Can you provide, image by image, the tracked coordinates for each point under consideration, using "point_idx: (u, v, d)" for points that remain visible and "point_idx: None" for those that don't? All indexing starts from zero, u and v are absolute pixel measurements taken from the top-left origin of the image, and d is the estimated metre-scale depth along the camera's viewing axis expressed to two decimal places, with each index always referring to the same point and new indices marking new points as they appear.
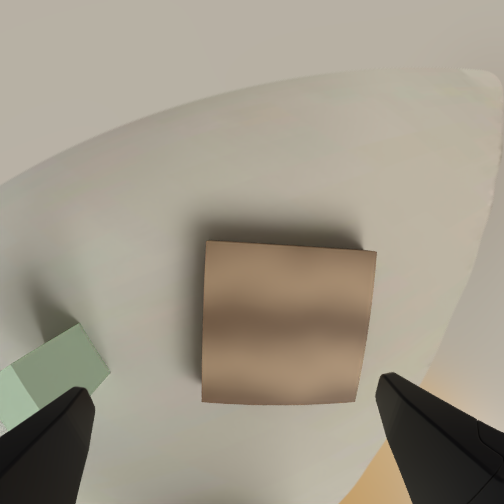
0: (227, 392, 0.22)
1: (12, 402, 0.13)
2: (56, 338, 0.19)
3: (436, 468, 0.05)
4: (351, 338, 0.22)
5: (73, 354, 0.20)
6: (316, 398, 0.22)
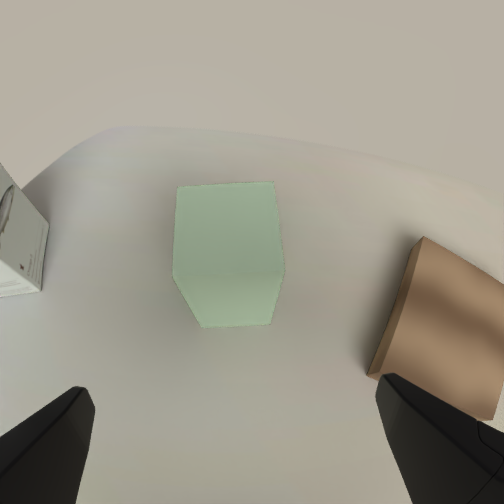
0: (406, 368, 0.19)
1: (233, 216, 0.15)
2: None
3: (436, 468, 0.05)
4: (500, 353, 0.19)
5: None
6: (469, 403, 0.17)
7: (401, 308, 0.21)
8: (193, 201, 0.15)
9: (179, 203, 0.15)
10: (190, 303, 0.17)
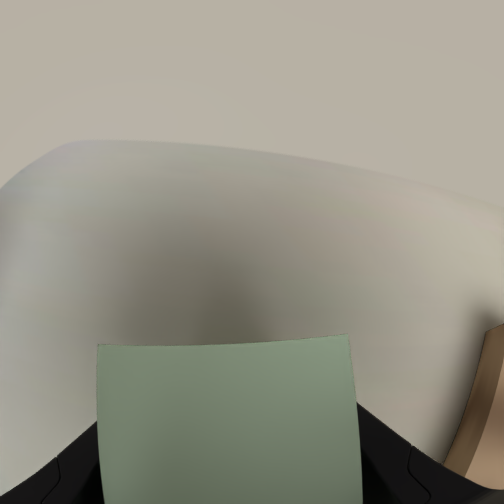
0: None
1: (243, 450, 0.05)
2: None
3: (362, 492, 0.05)
4: None
5: None
6: None
7: (478, 434, 0.11)
8: (137, 396, 0.05)
9: (104, 397, 0.05)
10: None
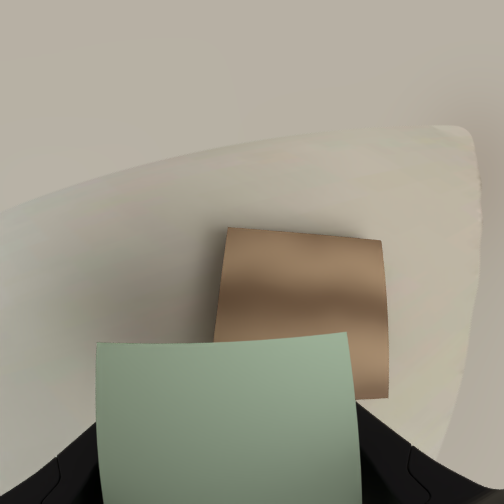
0: None
1: (243, 448, 0.05)
2: None
3: (362, 492, 0.05)
4: (371, 320, 0.21)
5: None
6: None
7: None
8: (136, 394, 0.05)
9: (103, 395, 0.05)
10: None
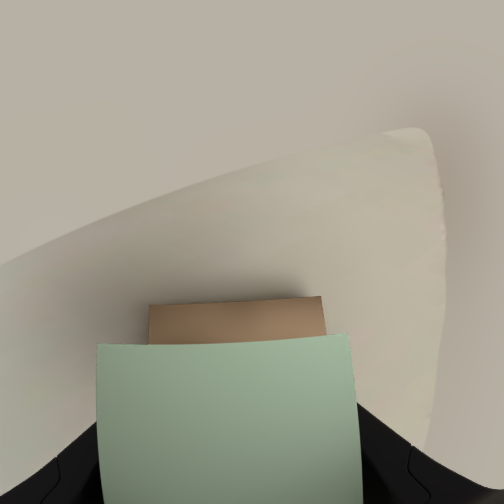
0: None
1: (244, 450, 0.05)
2: None
3: None
4: None
5: None
6: None
7: None
8: (137, 395, 0.05)
9: (104, 396, 0.05)
10: None
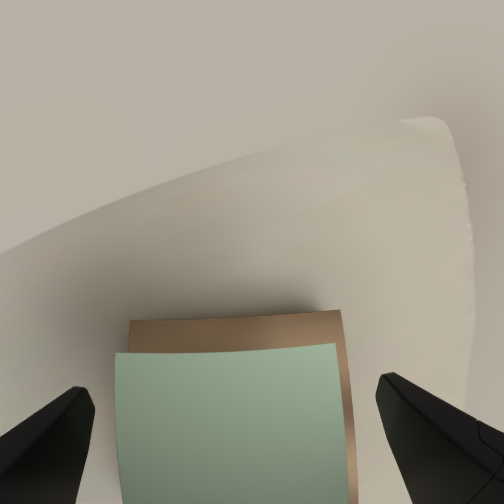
0: None
1: (244, 444, 0.06)
2: None
3: (436, 468, 0.05)
4: None
5: None
6: None
7: None
8: (151, 398, 0.06)
9: (122, 399, 0.06)
10: None
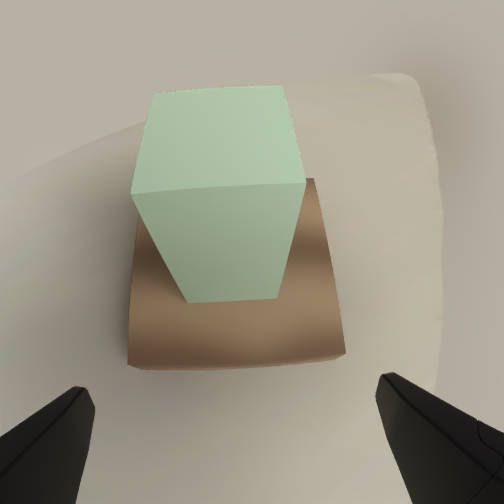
0: (159, 347, 0.16)
1: (226, 119, 0.10)
2: None
3: (436, 468, 0.05)
4: (310, 262, 0.19)
5: None
6: (285, 350, 0.16)
7: None
8: (172, 106, 0.10)
9: (153, 109, 0.10)
10: (165, 255, 0.12)
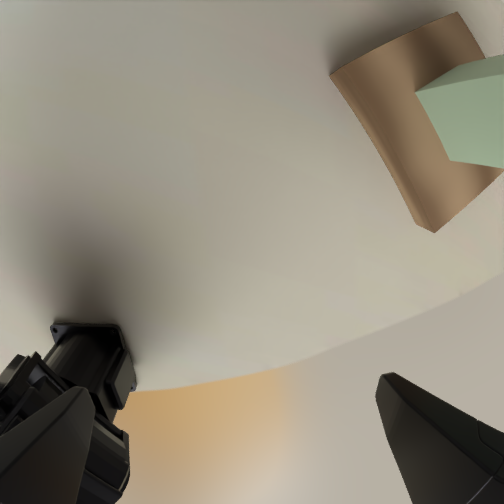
0: (373, 86, 0.15)
1: None
2: None
3: (436, 468, 0.05)
4: (478, 174, 0.17)
5: None
6: (421, 186, 0.17)
7: (398, 37, 0.15)
8: None
9: None
10: (479, 81, 0.10)
